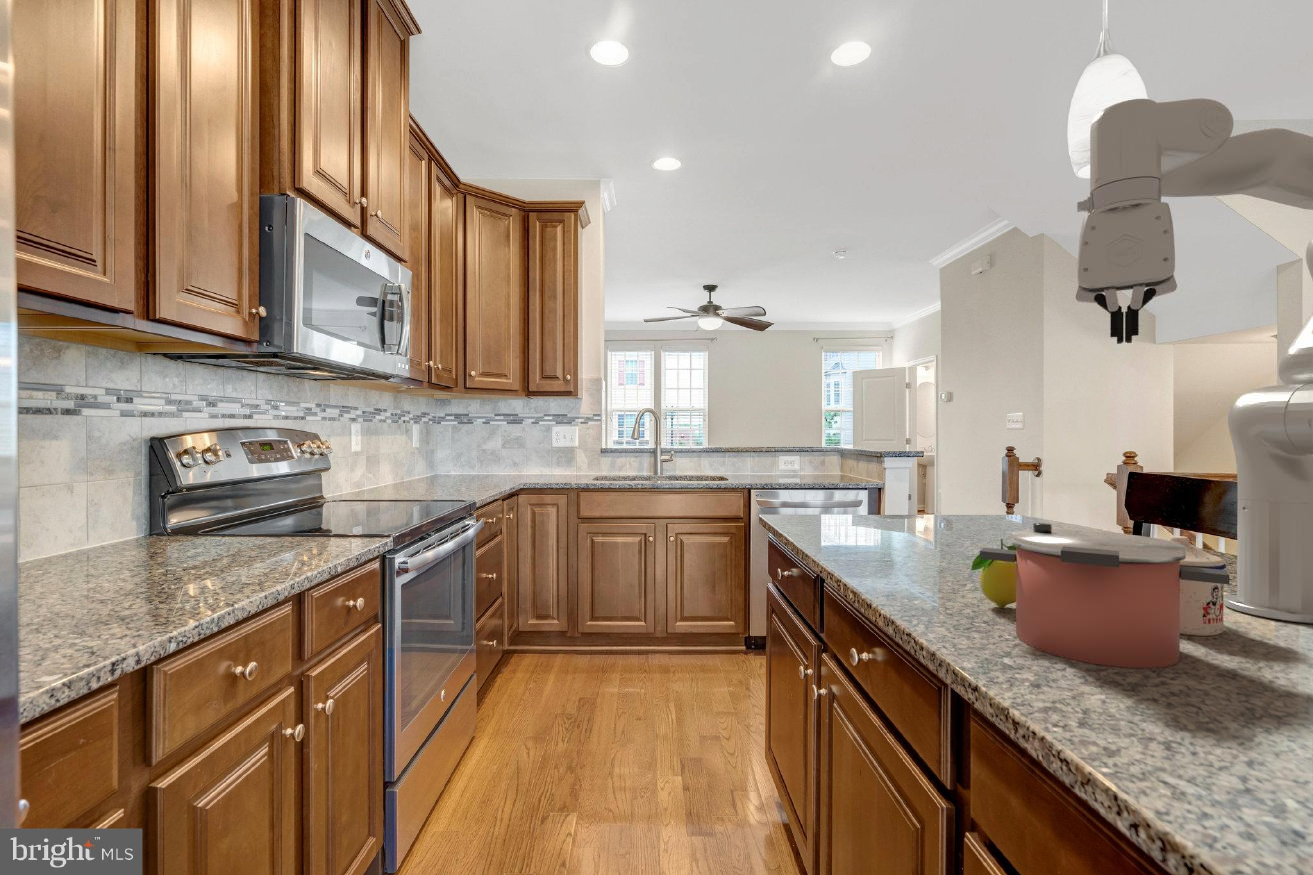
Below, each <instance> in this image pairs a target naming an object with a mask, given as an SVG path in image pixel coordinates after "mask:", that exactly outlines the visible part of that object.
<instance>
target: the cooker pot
mask: <svg viewBox="0 0 1313 875" xmlns="http://www.w3.org/2000/svg"><path fill="white" fill-rule="evenodd" d="M979 554H980V559H987V560H997V561H1007V562H1015V563H1016V602H1015V605H1016V606H1015V608H1016V609H1015V611H1016V613H1015V615H1016V616H1015V617H1016V618H1015V619H1016V620H1015V625H1016V626H1015V627H1016V628H1015V633H1016V634H1015V635H1016V636H1017V638H1018V639H1019V640H1021V642H1023V643H1025V644H1027V645H1029V646H1031V647H1033V648H1034V649H1037V650H1039V651H1042V652H1045V653H1048V654H1050V655H1051V654H1052V655H1054V656H1057V657H1062V658H1065V659H1069V660H1074V661H1079V662H1082V663H1088V664H1095V665H1101V666H1108V667H1118V668H1127V669H1129V668H1130V669H1131V668H1132V669H1156V668H1164V667H1169V666H1173V665H1176V663H1178V662H1179V661H1180V660H1181V659H1180V650H1181V649H1180V643H1181V642H1180V638H1181V637H1180V579H1181V580H1190V581H1200V582H1210V583H1219V584H1224V585H1230V574H1229V572H1228V571H1227V570H1226V569H1224V570H1219V569H1208V568H1197V567H1187V566H1180V561H1175V562H1156V563H1147V562H1120V561H1119V567H1110V566H1100V565H1090V564H1080V563H1069V562H1061V556H1058V555H1052V554H1045V553H1040V552H1035V551H1030V550H1026V549H1022V548H1019V547H1016V550H1008V549H1005V548H1003V549H1001V548H994V547H983V548H981V549H980V550H979Z"/></svg>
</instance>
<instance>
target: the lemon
mask: <svg viewBox="0 0 1313 875" xmlns="http://www.w3.org/2000/svg"><path fill="white" fill-rule="evenodd" d="M1004 547H1005V548H1006V550H1016V546H1014V545H1013V544H1012V545H1005V544H1004V542H1003V538H1000V549H1004ZM980 569H981V572H980V577H979V578H980V587H981V591H982V592H983V593H982V594H983V595H984V596H985V597H986V598H987V599H988V600H989V601H991V602H993V603H995V604H996V605H997V607H998V608H1000V609H1004V608H1005V607H1007V606H1008V605H1012V604H1014V603H1015V604H1016V562H1007V561H997V560H987V559H980V553H979V554H977V555H976V556H975V558H974V559H973V561H972V564H971V569H970V571H976V570H977V571H978V570H980Z"/></svg>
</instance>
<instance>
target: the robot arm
mask: <svg viewBox="0 0 1313 875" xmlns="http://www.w3.org/2000/svg"><path fill="white" fill-rule="evenodd" d="M1234 123H1235V122H1234V117H1233V114H1232V112H1231V111H1230V109H1229V108H1228V107H1227V106H1226V104H1223V103H1222V102H1220V101H1217V100H1214V99H1211V98H1190V99H1189V98H1188V99H1181V100H1174V101H1171V100H1170V101H1163V102H1162V101H1161V102H1156V101H1155V100H1154V99H1153V100H1152V99H1149V98H1135V99H1134V98H1133V99H1128V100H1125V101H1124V100H1123V101H1120V102H1117V103H1115V104H1112V105H1110V106H1108V107H1106V108H1104V109H1103V110H1101V111H1100V112H1098V114H1096V115H1095V117H1094V118H1093V120H1092V121H1091V124H1090V131H1089V134H1090V135H1089V140H1090V142H1089V144H1090V146H1089V151H1090V152H1089V155H1090V156H1089V157H1090V158H1089V161H1090V162H1089V164H1090V165H1089V166H1090V167H1089V169H1090V172H1089V196H1087V199H1083V201H1081V200H1080V201H1077V203H1076V206H1077V207H1076V208H1077V209H1076V211H1077V213H1079V212H1080V213H1081V212H1084V213H1086V212H1087V215H1085V216H1084V217H1083V220H1082V224H1081V228H1080V234H1079V240H1078V254H1077V256H1078V257H1077V283H1078V288H1077V291H1076V294H1075V299H1076V302H1078V303H1089V304H1096V305H1098V306H1100V307H1101V308H1102V309H1103V310H1105V311H1106V312H1107V313H1108V314H1110V317H1109V318H1110V333H1109V334H1110V336H1109V337H1110V338H1116V344H1117V345H1120V344H1122V343H1124V342H1125V343H1126V344H1132V342H1133V337H1136V336H1137V337H1138V336H1139V333H1140V331H1139V330H1140V329H1139V328H1140V327H1139V326H1140V325H1139V323H1140V322H1139V312H1140V311H1141V309H1143V308H1144V307H1145V306H1146V305H1147V304H1149V302H1150V301H1152V300H1153V299H1154V298H1157V297H1161V296H1165V295H1168V294H1171V293H1175V292H1176V290H1177V288H1178V284H1177V281H1176V277H1175V275H1174V274H1175V270H1176V269H1175V268H1176V250H1175V249H1176V247H1175V233H1174V224H1173V217H1172V213H1171V208H1170V205H1169V202H1165V201H1162V198H1163V197H1164V198H1184V197H1185V198H1191V197H1220V196H1223V197H1224V196H1233V195H1242V196H1249V197H1253V198H1255V199H1256V198H1257V199H1261V200H1265V201H1269V202H1273V203H1278V204H1283V205H1286V206H1290V207H1293V208H1294V207H1295V208H1297V209H1302V210H1310V211H1311V210H1312V211H1313V136H1312V135H1308V134H1304V133H1300V132H1297V131H1293V130H1290V129H1286V128H1280V127H1279V128H1278V127H1277V128H1267V129H1266V128H1264V129H1260V130H1259V129H1258V130H1254V131H1249V132H1244V133H1240V134H1236V135H1233V136H1232V133H1233V129H1234ZM1305 250H1306V251H1305V261H1306V266H1307V268H1308V271H1309V274H1310V277H1311V279H1312V281H1313V236H1312V237H1311V238H1310V239H1309V242H1308V244H1307V246H1306V249H1305ZM1129 290H1132V292H1131V297H1130V303H1129V304H1128V305H1127V306H1126V311H1125V312H1124V311H1122V310H1123V309H1122V308H1123V306H1121V305H1119V300H1118V293H1117V292H1119V291H1120V292H1122V291H1129ZM1277 371H1278V377H1279V379H1280V381H1281V382H1282V384H1278V385H1277V384H1276V385H1269V386H1264V387H1259V388H1255V389H1251V390H1250V391H1249V390H1248V391H1247V392H1245V393H1243V394H1242V395H1239V397H1237V398H1236V399H1235V400H1234V401H1233V402H1232V404H1231V406H1230V407H1229V411H1228V414H1227V425H1228V430H1229V435H1230V439H1231V443H1232V446H1233V450H1234V456H1235V463H1236V478H1237V480H1236V482H1237V515H1236V516H1237V521H1236V522H1237V524H1236V525H1237V530H1236V531H1237V534H1236V535H1237V545H1236V546H1237V547H1236V551H1237V558H1236V560H1237V563H1236V570H1237V571H1236V576H1237V577H1236V579H1237V580H1236V583H1237V585H1236V586H1237V587H1236V592H1228V593H1225V594H1224V595H1223V606H1224V605H1225V606H1226V607H1227V608H1229V609H1232V610H1235V611H1238V612H1242V613H1245V614H1249V615H1252V616H1257V617H1262V618H1268V619H1272V620H1280V621H1287V622H1293V623H1305V624H1313V311H1312V312H1311V314H1310V316H1309V317H1308V319H1306V322H1305V323H1304V325H1303V326H1302V327H1301V328H1300V330H1299V331H1298V333H1297V334H1296V336H1295V337H1294V338H1293V339H1292V341H1291V342H1290V345H1288V347H1287V348H1286V350H1285V351H1284V353H1283V356H1282V357H1281V360H1280V362H1279V366H1278V370H1277Z"/></svg>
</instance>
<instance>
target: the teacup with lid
mask: <svg viewBox="0 0 1313 875" xmlns="http://www.w3.org/2000/svg"><path fill="white" fill-rule="evenodd" d="M1168 541H1173V542H1177V543H1180V544H1183V545H1184V546H1186V559H1184V560H1181V561H1180V566H1187V567H1197V568H1208V569H1219V570H1226V568H1227V564H1226V562H1225V560H1223V558H1221V557H1219V556H1217V555H1214V554H1210V553H1208V552H1206V551H1204V550H1203V549H1202V548H1200V547H1197V546H1195V545H1191V544H1190V538H1188V537H1187V536H1183V535H1182V536H1181V535H1171V536H1169V539H1168ZM1224 585H1225V584H1219V583H1210V582H1200V581H1190V580H1181V579H1180V634H1181V635H1188V636H1199V637H1200V636H1201V637H1203V636H1205V637H1209V636H1217V635H1221V634H1222V633H1223V632H1224V604H1223V595H1225V594H1224V591H1225V590H1224V588H1225V587H1224Z"/></svg>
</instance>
